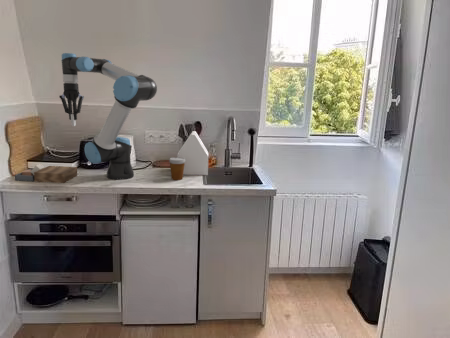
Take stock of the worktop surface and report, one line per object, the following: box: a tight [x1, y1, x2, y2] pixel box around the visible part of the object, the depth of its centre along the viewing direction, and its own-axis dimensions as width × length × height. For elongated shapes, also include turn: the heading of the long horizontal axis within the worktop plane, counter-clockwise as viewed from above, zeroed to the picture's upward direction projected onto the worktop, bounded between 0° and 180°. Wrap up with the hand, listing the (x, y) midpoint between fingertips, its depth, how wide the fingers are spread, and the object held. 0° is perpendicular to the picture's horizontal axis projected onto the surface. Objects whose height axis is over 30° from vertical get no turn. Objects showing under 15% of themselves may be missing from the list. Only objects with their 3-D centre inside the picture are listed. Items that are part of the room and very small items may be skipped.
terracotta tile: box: [21, 169, 33, 176], centre depth 194 cm, size 5×5×3 cm
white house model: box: [176, 130, 209, 176], centre depth 221 cm, size 19×15×25 cm
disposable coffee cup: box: [168, 156, 186, 181], centre depth 204 cm, size 10×10×12 cm
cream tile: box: [30, 163, 46, 175], centre depth 194 cm, size 5×5×3 cm
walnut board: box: [34, 165, 78, 184], centre depth 194 cm, size 16×16×5 cm
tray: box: [14, 167, 35, 182], centre depth 195 cm, size 10×16×3 cm, turn 179°
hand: (73, 125), depth 199 cm, fingers closed
